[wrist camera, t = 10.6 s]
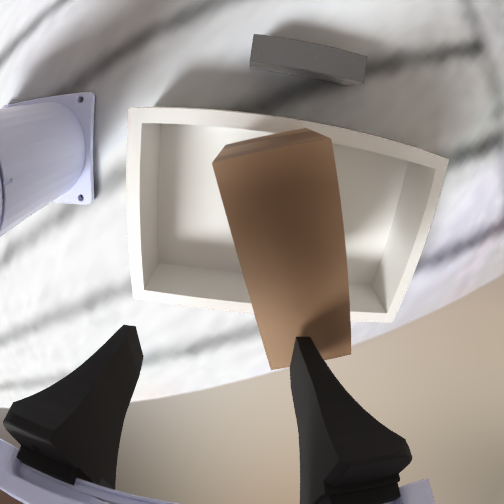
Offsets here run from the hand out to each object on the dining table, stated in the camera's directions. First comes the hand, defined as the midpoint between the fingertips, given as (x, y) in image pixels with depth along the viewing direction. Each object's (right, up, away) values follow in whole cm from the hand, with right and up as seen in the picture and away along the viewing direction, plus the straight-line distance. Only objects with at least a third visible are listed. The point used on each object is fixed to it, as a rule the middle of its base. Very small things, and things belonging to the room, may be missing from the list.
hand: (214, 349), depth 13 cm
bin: (+3, +7, +7) cm, 10 cm away
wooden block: (+3, +6, +3) cm, 7 cm away
